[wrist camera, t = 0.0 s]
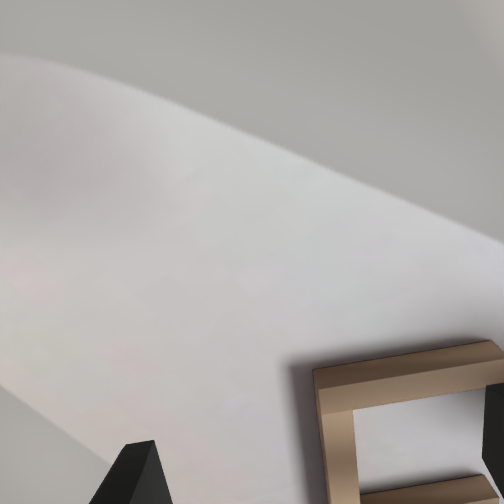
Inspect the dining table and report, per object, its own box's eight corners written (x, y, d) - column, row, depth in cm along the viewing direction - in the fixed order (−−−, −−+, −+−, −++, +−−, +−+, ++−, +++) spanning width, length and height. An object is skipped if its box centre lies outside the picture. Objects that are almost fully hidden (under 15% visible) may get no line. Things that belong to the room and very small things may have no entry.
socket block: (483, 493, 26) (497, 517, 25) (330, 519, 26) (336, 544, 25) (491, 340, 22) (509, 357, 21) (312, 369, 22) (318, 389, 21)
